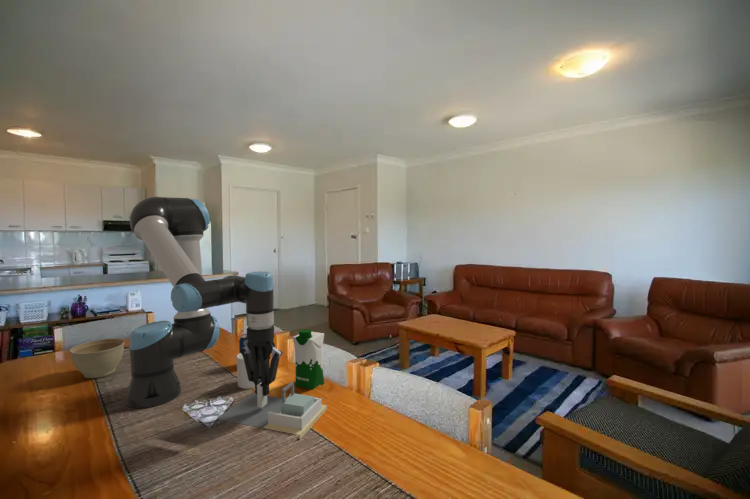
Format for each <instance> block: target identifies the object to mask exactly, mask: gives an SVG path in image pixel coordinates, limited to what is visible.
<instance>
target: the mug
mask: <svg viewBox="0 0 750 499" xmlns="http://www.w3.org/2000/svg"><path fill="white" fill-rule="evenodd" d="M236 373H237V375H236V377H237V378H236V380H237V387H238V388H241V389H244V390H247V389H249V390H250V389H255V384H254V382H252V381H251V382H250V381H249V380H248V376H247V371H246V367H245V363H244V358H243V356H242V354H241V353H240V352H239V353H238V354H237V355H236Z"/></svg>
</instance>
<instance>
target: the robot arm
mask: <svg viewBox="0 0 750 499" xmlns="http://www.w3.org/2000/svg"><path fill="white" fill-rule="evenodd" d="M129 225H130V229H131V231H132V233H133V234H134V235H135V237H136V238H137V239H138V240H140V241H143V242H144V244H145V245H146V247H147V249H148V250H149V252H150V253H151V255H152V256H153V258H154V259H155V261H156V263H157V264H158V266H159V267H160V269H161V270H162V272H163V273H164V275H165V276H166V278H167V280H168V281H169V283H170V284H171V285H172V287H173V288H172V289H171V292H170V301H171V303H172V304H171V305H172V307H173V308H174V310H175V311H176V313H175V314H174V316H173V323H172V322H171V321H170V320H158V321H153V322H149V323H145V324H143V325H140V326H138V327H137V328H134V330H132V331H131V333H130V334H129V345H128V349H129V355H130V356H129V357H130V373H131V376H130V377H131V379H130V382H129V386H128V389H127V392H126V393H125V394H126V395H125V404H126V405H127V406H128V407H131V408H136V409H139V408H151V407H154V406H159V405H162V404H166V403H168V402H170V401H172V400H174V399H175V398H177V397H178V396H179V395H180V394H181V392H182V385H181V382H180V381H179V378H178V374H177V373H176V371H175V367H174V366H175V365H174V364H175V363H174V360H176V359H179V358H183V357H186V356H189V355H193V354H197V353H202V352H204V351H206V350H210V349H211V348H213V347H214V346H215V345H216V343H217V342H218V339H219V335H220V324H219V322H218V319H217V318H216V316H214V315H211V314H212V313H211V311H210V310H209V308H213V307H214V308H215V307H219V306H224V305H228V304H232V303H233V304H234V303H243V304H245V312H246V327H247V328H246V334H247V340H248V343H247V346H246V347H244V348H242V349H240V352H241V354H242V356H243V358H244V363H245V367H246V371H247V376H248V380H249V381H250V382H251V381H252V382H254V384H255V388H254V394H257V406H258V407H260V408H262V407H264V406H265V405H266V404H267V396H269V394H270V385H271V384H272V383H273V382H275V381H276V378H277V372H278V367H279V362H280V358H281V356H282V355H283V353H284V352H283V351H282V350H281V349H278V348H276V344H275V343H274V341H275V340H274V338H275V326H274V324H275V314H274V313H275V312H274V304H275V303H274V288H275V287H274V286H275V285H274V280H273V274H272V273H271V272H270V271H251V272H247V273H246V274H245V276H241V275H237V274H236V275H226V276H224V277H222V278H219V279H209V280H205V278H204V276H203V267H202V254H201V245H200V244H201V242H200V240H201V239H203V237H204V236H205V235H204V232H205V231H207V230H208V228H209V226H210V214H209V210H208V209H207V207H206V205H205V204H204V203H203V202H202V201H201V200H200V199H196V198H190V197H189V198H188V197H165V196H150V197H147V198H144V199H142V200H141V201H139V202H138V203H136V204H135V206H134V207H133V208H132V210H131V212H130V215H129ZM240 352H239V353H240Z"/></svg>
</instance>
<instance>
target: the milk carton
mask: <svg viewBox="0 0 750 499" xmlns="http://www.w3.org/2000/svg"><path fill="white" fill-rule="evenodd" d="M324 340H325V333H324V332H317V331H312V330H311V329H310V328H303V329H300V330H299V331H298V334H296V335H294V336H293V337H292V341H293V346H294V357H295V358H294V363H295V366H294V367H295V381H294V387H297V388H301V389H307V390H311V391H312V390H314V389H316V388H317V387H319V386H324V385H325V377H324V363H323V362H324V357H323V356H324V353H323V351H324V350H323V349H324V348H323V346H324V345H323V344H324ZM323 384H324V385H323Z"/></svg>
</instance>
